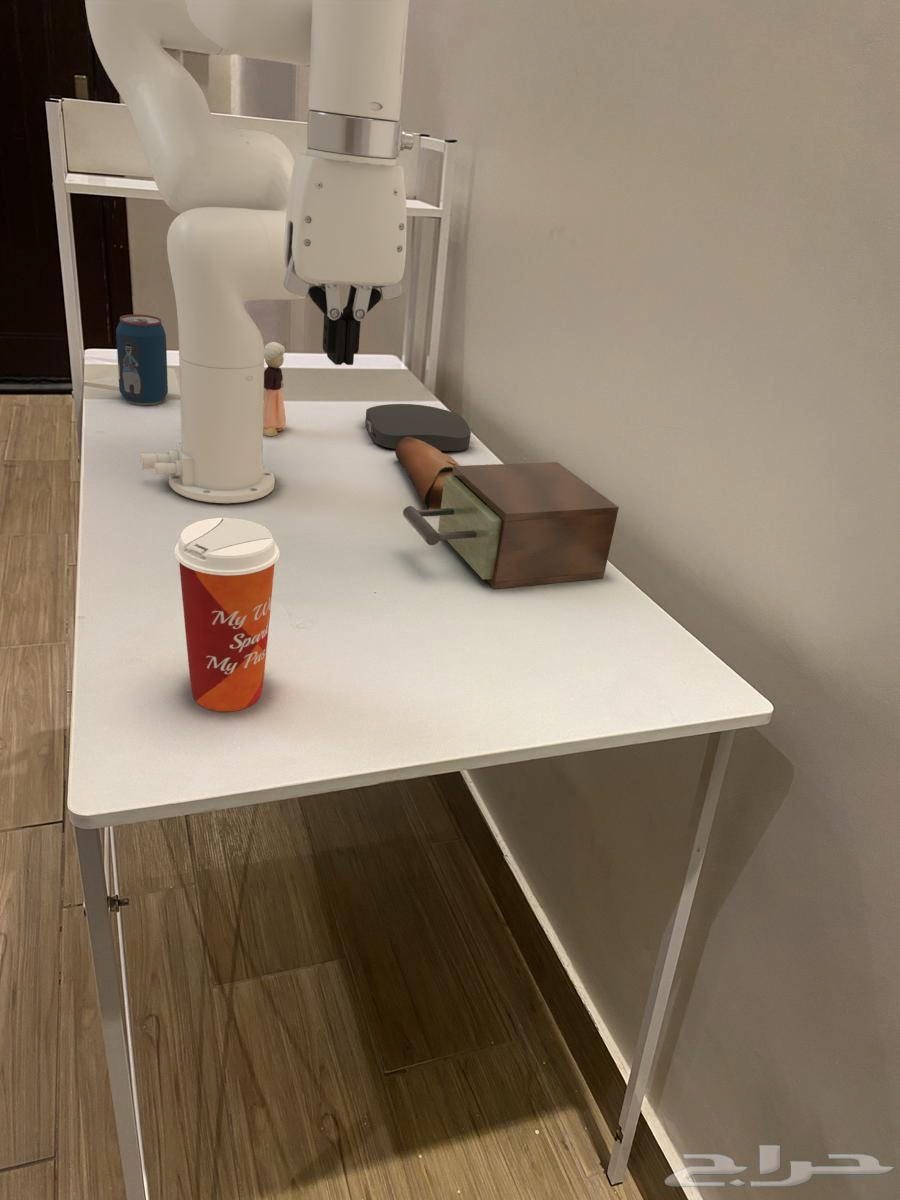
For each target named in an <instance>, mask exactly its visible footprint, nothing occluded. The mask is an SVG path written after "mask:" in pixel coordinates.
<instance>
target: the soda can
mask: <svg viewBox="0 0 900 1200" xmlns="http://www.w3.org/2000/svg"><path fill="white" fill-rule="evenodd" d="M115 335H116V337H115V338H116V354H117V355H116V356H117V372H118V386H119V387H118V389H119V393H120V394H121V397H122V398H123V399H124V401H125V402H127V403H129V404H132V405H137V406H155V405H158V404H162V403H163V402H164V401H165V399H166V397H167V396H168V394H169V386H168V385H169V383H168V354H167V353H168V352H167V351H168V350H167V331H166V329H165V327H164V325H163V324H162V319H161V318H160V317H158V316H154V315H149V314H141V313H140V314H135V313H134V314H132V313H131V314H125V315H124V314H123V315H121V316H120V317H119V322H118V324H117V327H116V329H115Z"/></svg>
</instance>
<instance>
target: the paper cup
mask: <svg viewBox="0 0 900 1200" xmlns="http://www.w3.org/2000/svg"><path fill="white" fill-rule="evenodd" d="M280 553H281V552H280V548H279V546H278V544H276V542H275V539H274V537H273V535H272V533H271V531H270V530H269V529H268V528H267V527H266V526H264V525H261V524H259V523H257V522H255V521H251V520H247V519H242V518H234V517H233V518H232V517H231V518H230V517H214V518H207V519H203V520H198V521H196V522H193V523H191V524H189V525H187V526H186V527H185V528H184V529H182V531H181V533H180V534H179V539H178V541H177V543H176V545H175V546H174V550H173V554H174V557H175V559H176V560H177V561H178V565H179V575H180V584H181V585H180V588H181V598H182V606H183V608H182V609H183V621H184V630H185V639H186V641H185V642H186V652H187V662H188V672H189V682H190V689H191V694H192V698H193V700H194V701H195V702H196V704H198V705H200V706H201V707H202V708H205V709H207V710H211V711H215V712H236V711H240V710H244V709H247V708H249V707H251V706H253V705H254V704H255V703H257V702H258V701H259V700H260V698H261V696H262V692H263V687H264V679H265V671H266V670H265V669H266V661H267V660H266V659H267V650H268V639H269V629H270V619H271V608H272V597H273V587H274V586H273V585H274V574H275V564H276V562H277V561H278V560H279V558H280Z"/></svg>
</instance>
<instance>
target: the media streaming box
mask: <svg viewBox="0 0 900 1200" xmlns="http://www.w3.org/2000/svg"><path fill="white" fill-rule="evenodd" d="M364 423H365V426H366V429H367V431H368V433H369V436H370V437H371V439H372V441H373V442H374V443H375V444H378V445H379V446H381V447H385V448H390V449H394V450H396V447H397V445H398V443H399V442H400V441H401V440H402V439H404V438H406V437H411V438H415V439H418V440H420V441H423V442H425V443H427V444H429V445H431V446H433V447H435V448H436V449H438V450H439V451H441V452H442V451H444V452H455V451H456V452H458V451H463V450H466V449H468V448H469V447H470V441H471V434H472V431H471V428H470V426H469V424H468V423H467V421H466V420H465V419H464V418H463V416H461V415H460V414H459V413H456V412H454V411H450V410H446V409H443V408H439V407H435V406H430V405H423V404H415V403H414V404H413V403H391V404H388V403H387V404H380V405H375V406H372V407H369V408H366V410H365V422H364Z"/></svg>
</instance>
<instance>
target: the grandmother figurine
mask: <svg viewBox="0 0 900 1200" xmlns="http://www.w3.org/2000/svg"><path fill="white" fill-rule="evenodd" d="M285 353H286V348H285V346H284V345H282V344H281V343H279V342H277V341H270V342H268V343H267V344H266V345H264V363H265V364H266V365H267V367H266V368H265V369H264V402H263V436H268V437H275V436H278V432H281V431H283V430H284V428H285V427H286V426H287V421H286V409H285V403H284V395H283V390H282V389H283V388H284V376H283V371H282V368H281V366H283V364H284V360H285V358H284V355H285Z"/></svg>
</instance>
